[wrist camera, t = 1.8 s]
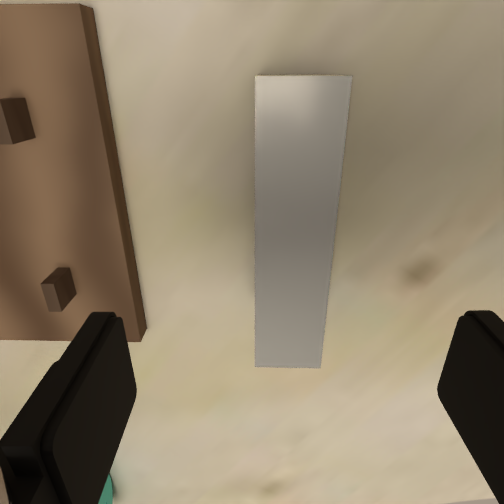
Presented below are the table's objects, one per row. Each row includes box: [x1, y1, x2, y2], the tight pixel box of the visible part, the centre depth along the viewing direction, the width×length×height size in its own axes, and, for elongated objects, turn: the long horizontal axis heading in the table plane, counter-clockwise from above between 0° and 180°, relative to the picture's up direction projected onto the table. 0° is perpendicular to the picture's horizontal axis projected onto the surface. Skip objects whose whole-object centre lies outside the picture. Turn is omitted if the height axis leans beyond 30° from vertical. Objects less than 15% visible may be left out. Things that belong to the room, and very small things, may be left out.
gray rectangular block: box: [255, 74, 352, 368], centre depth 19 cm, size 4×14×7 cm, turn 0°
